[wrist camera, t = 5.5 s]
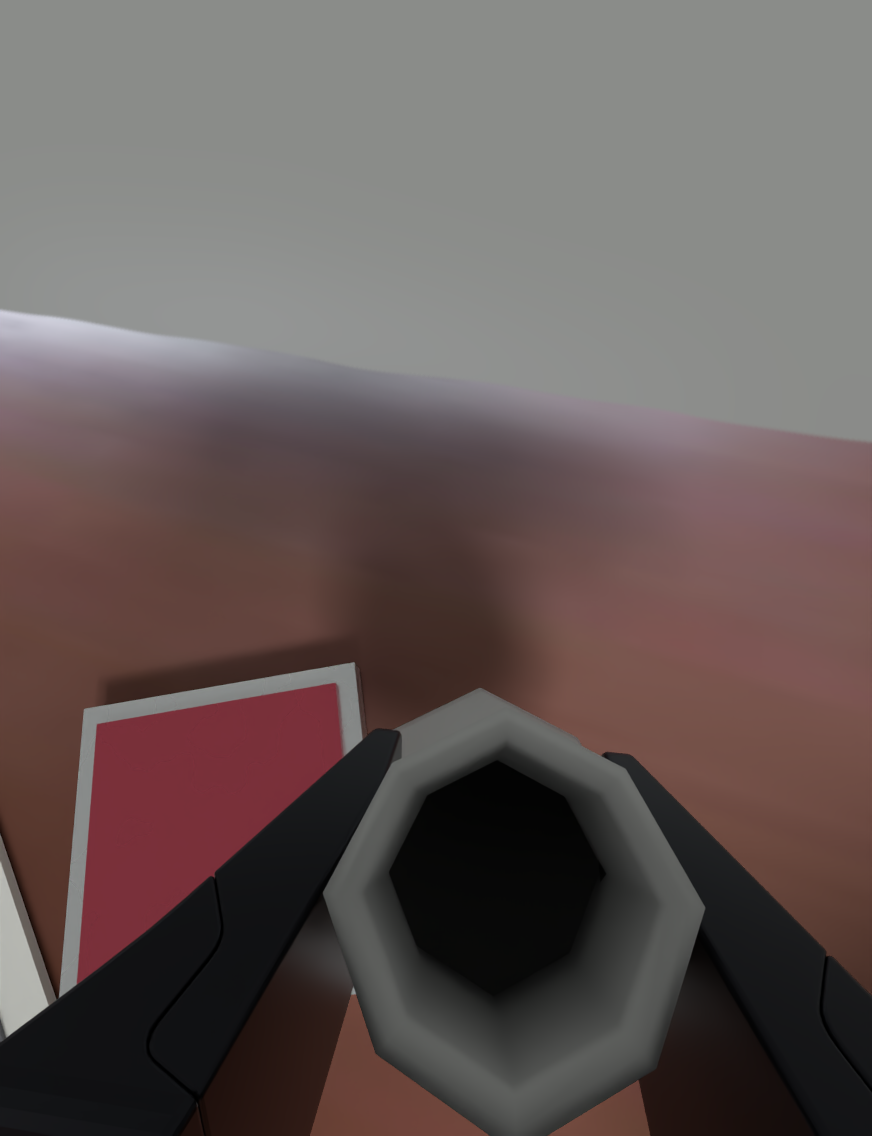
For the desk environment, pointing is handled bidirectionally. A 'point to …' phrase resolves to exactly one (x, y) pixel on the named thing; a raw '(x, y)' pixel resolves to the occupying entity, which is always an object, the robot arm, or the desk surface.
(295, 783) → the ink pad
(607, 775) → the flask
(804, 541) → the desk surface
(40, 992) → the marked board
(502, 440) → the desk surface
